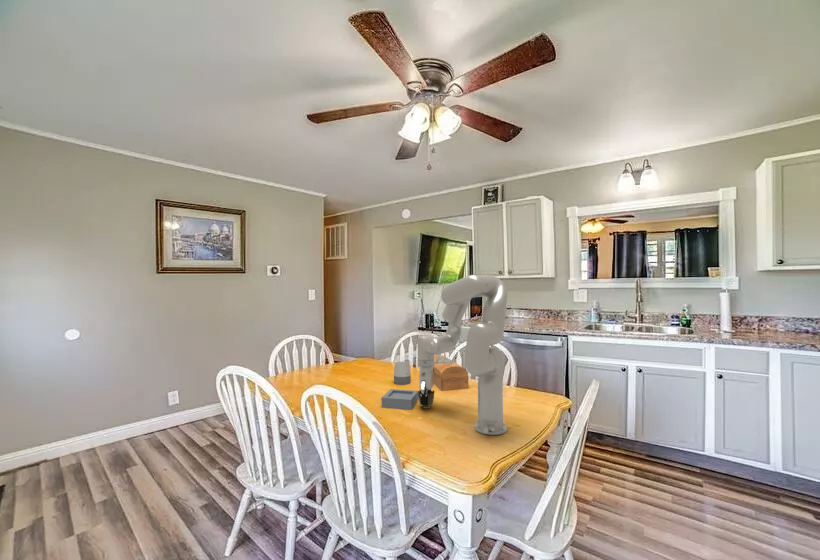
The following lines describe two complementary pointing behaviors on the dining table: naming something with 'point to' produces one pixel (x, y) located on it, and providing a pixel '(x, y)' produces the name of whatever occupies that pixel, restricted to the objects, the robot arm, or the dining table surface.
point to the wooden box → (449, 374)
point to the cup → (430, 398)
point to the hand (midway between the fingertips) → (426, 401)
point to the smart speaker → (402, 373)
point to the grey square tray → (400, 399)
